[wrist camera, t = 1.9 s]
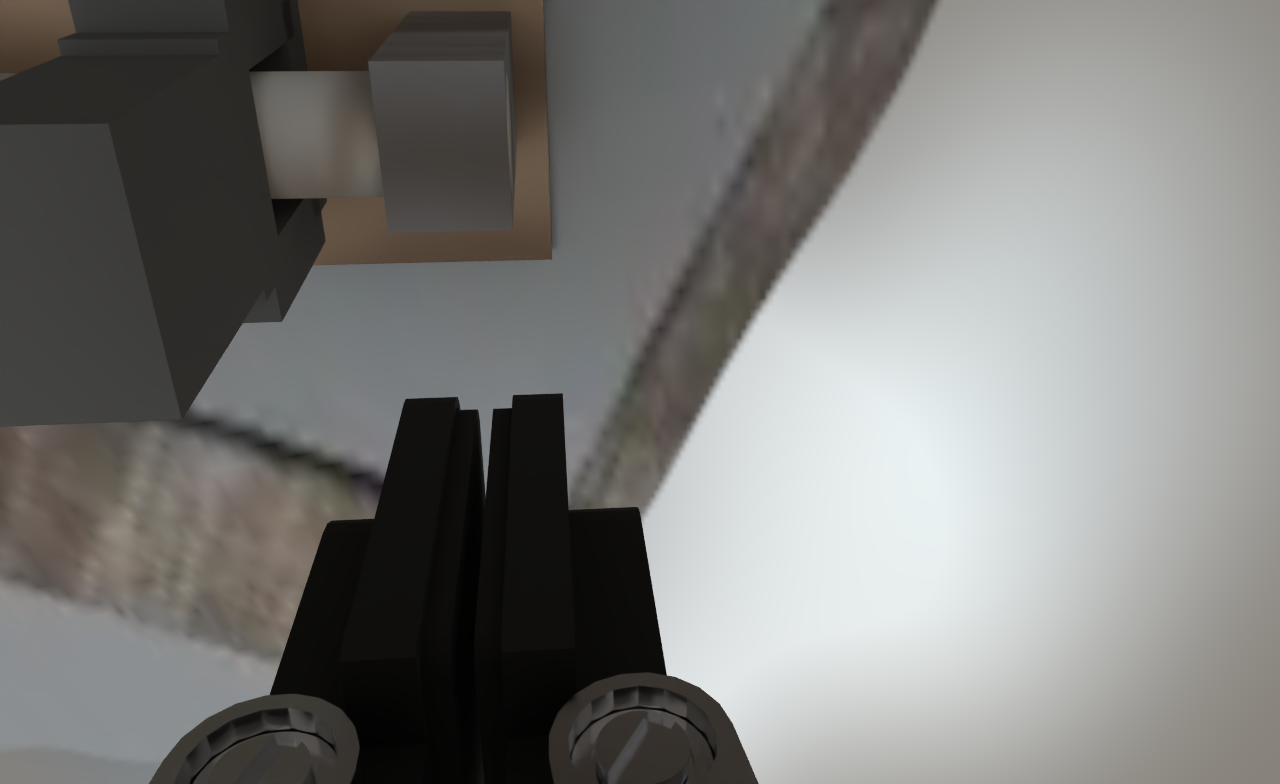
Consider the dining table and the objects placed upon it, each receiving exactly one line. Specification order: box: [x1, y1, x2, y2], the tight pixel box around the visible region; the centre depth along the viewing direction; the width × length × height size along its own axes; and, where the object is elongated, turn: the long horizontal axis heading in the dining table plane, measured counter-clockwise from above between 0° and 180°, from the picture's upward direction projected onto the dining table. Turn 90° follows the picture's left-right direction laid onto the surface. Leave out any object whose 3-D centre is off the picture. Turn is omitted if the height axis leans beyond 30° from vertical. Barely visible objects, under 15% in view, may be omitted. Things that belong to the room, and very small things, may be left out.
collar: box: [0, 0, 327, 427], centre depth 21 cm, size 7×3×13 cm, turn 179°
